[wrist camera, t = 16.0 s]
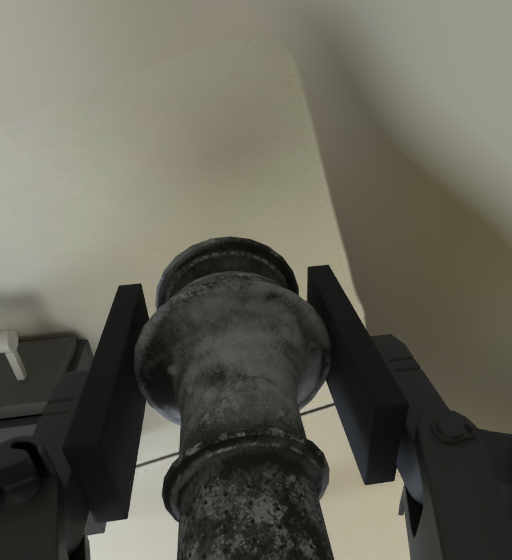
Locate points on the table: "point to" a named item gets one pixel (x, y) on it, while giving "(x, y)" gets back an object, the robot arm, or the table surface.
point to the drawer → (31, 372)
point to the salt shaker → (238, 402)
